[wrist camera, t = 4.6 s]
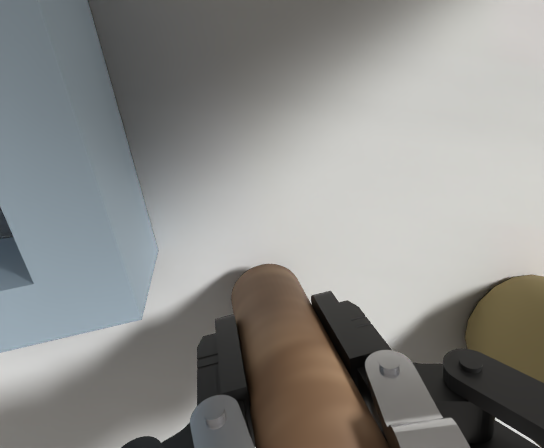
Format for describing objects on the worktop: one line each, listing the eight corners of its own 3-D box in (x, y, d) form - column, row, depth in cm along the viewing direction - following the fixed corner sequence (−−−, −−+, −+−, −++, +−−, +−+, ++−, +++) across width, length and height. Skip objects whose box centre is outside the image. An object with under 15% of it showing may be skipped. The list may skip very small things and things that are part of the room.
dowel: (295, 257, 15) (458, 520, 6) (304, 316, 16) (452, 619, 7) (225, 273, 14) (274, 585, 5) (238, 332, 16) (298, 679, 6)
